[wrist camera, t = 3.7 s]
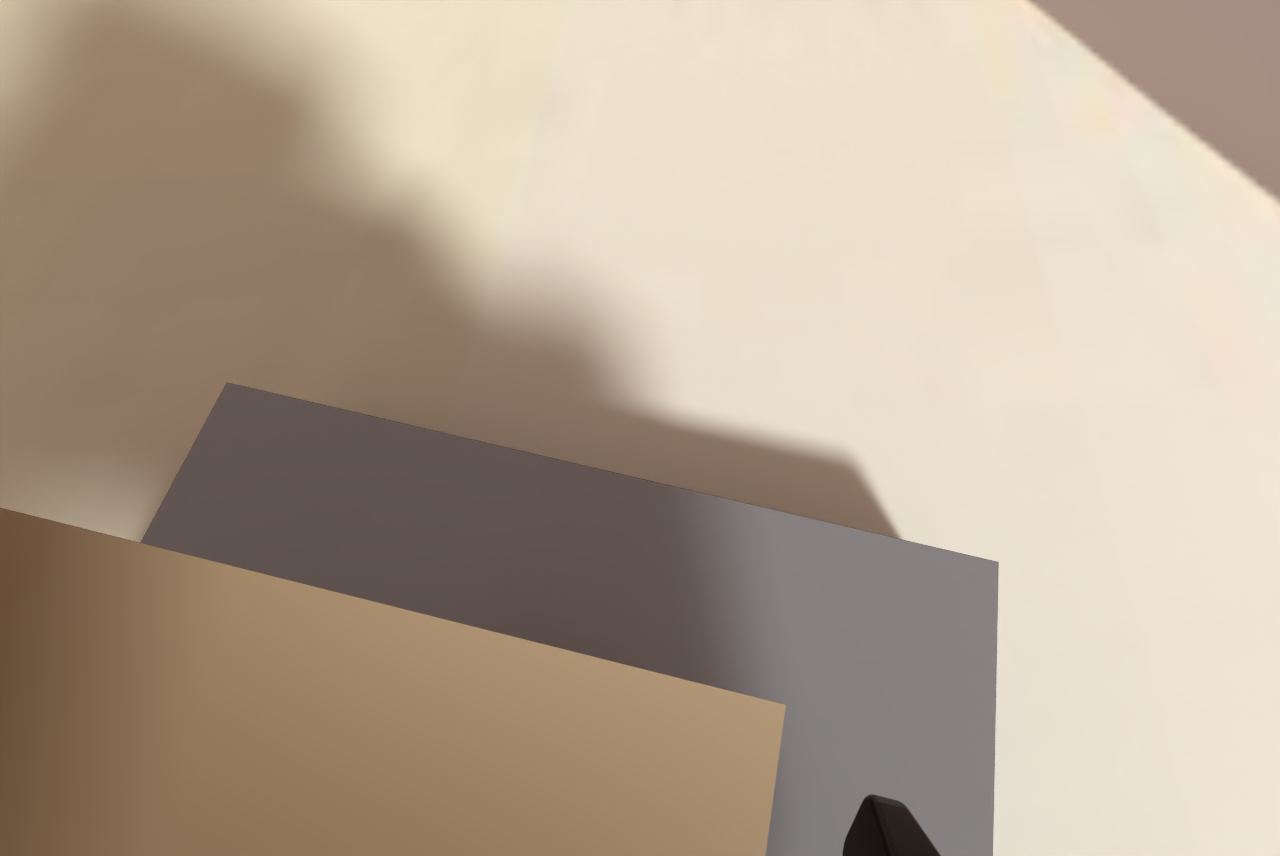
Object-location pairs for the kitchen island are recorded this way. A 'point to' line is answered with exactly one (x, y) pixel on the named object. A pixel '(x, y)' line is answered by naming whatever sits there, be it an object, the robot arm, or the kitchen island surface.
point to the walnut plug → (337, 724)
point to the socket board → (632, 593)
